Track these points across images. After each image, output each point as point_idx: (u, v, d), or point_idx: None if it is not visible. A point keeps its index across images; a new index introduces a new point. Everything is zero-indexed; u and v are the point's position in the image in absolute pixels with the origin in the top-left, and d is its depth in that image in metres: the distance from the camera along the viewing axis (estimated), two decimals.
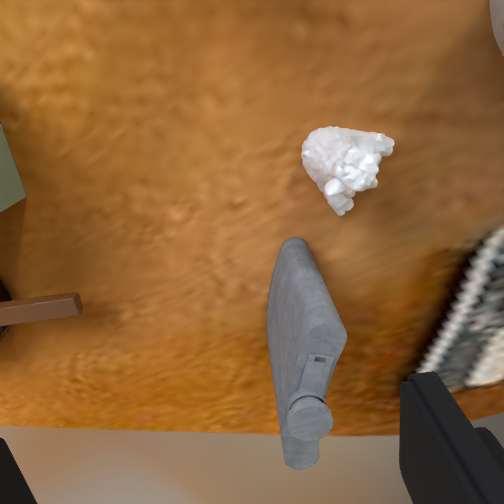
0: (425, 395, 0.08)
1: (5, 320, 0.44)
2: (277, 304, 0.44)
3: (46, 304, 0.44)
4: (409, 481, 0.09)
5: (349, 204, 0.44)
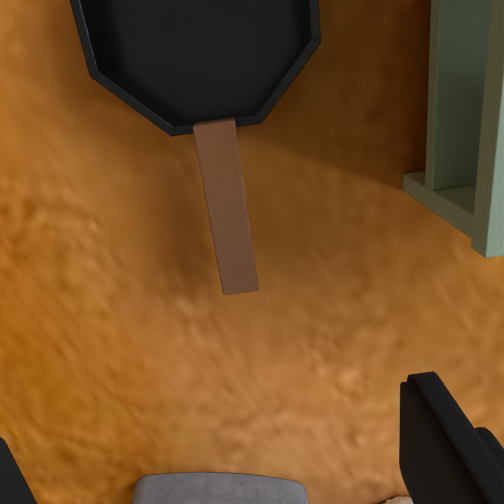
0: (425, 395, 0.08)
1: (211, 164, 0.22)
2: None
3: (246, 246, 0.24)
4: (409, 481, 0.09)
5: None
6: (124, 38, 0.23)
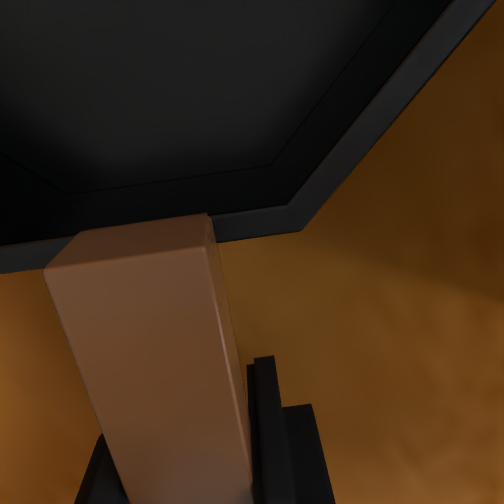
0: (255, 375, 0.09)
1: (128, 389, 0.06)
2: None
3: None
4: None
5: None
6: None
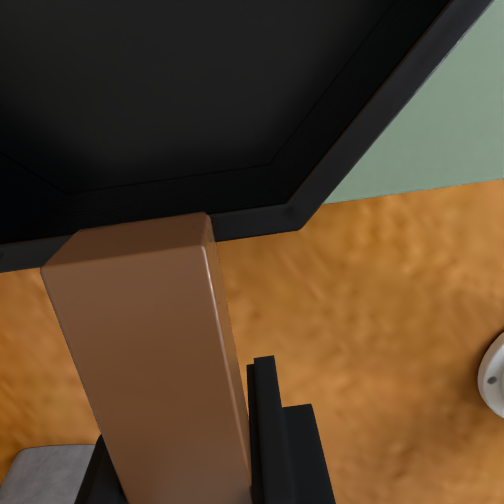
0: (255, 375, 0.09)
1: (126, 388, 0.06)
2: None
3: None
4: None
5: None
6: None
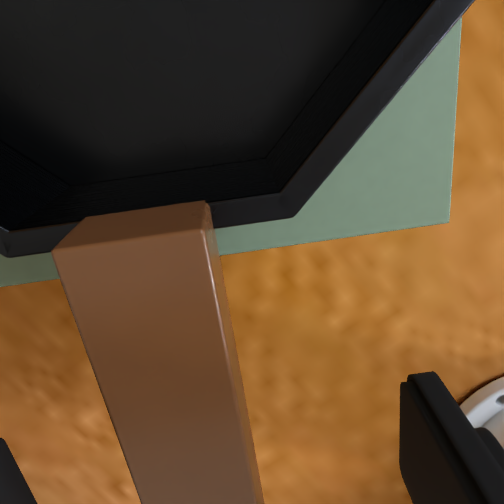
0: (425, 395, 0.08)
1: (131, 365, 0.07)
2: None
3: None
4: (409, 481, 0.09)
5: None
6: None
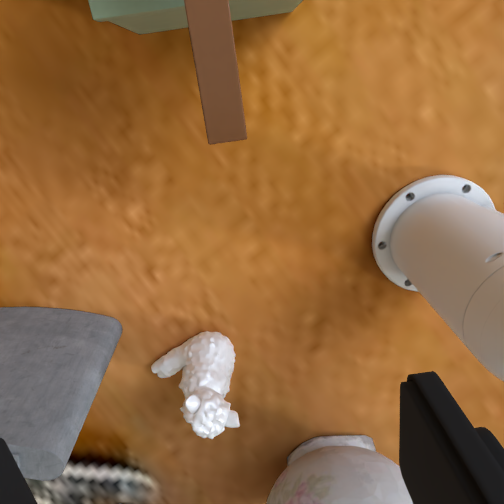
0: (425, 395, 0.08)
1: None
2: (47, 343, 0.39)
3: (233, 83, 0.22)
4: (409, 481, 0.09)
5: (164, 376, 0.46)
6: None
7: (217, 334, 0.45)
